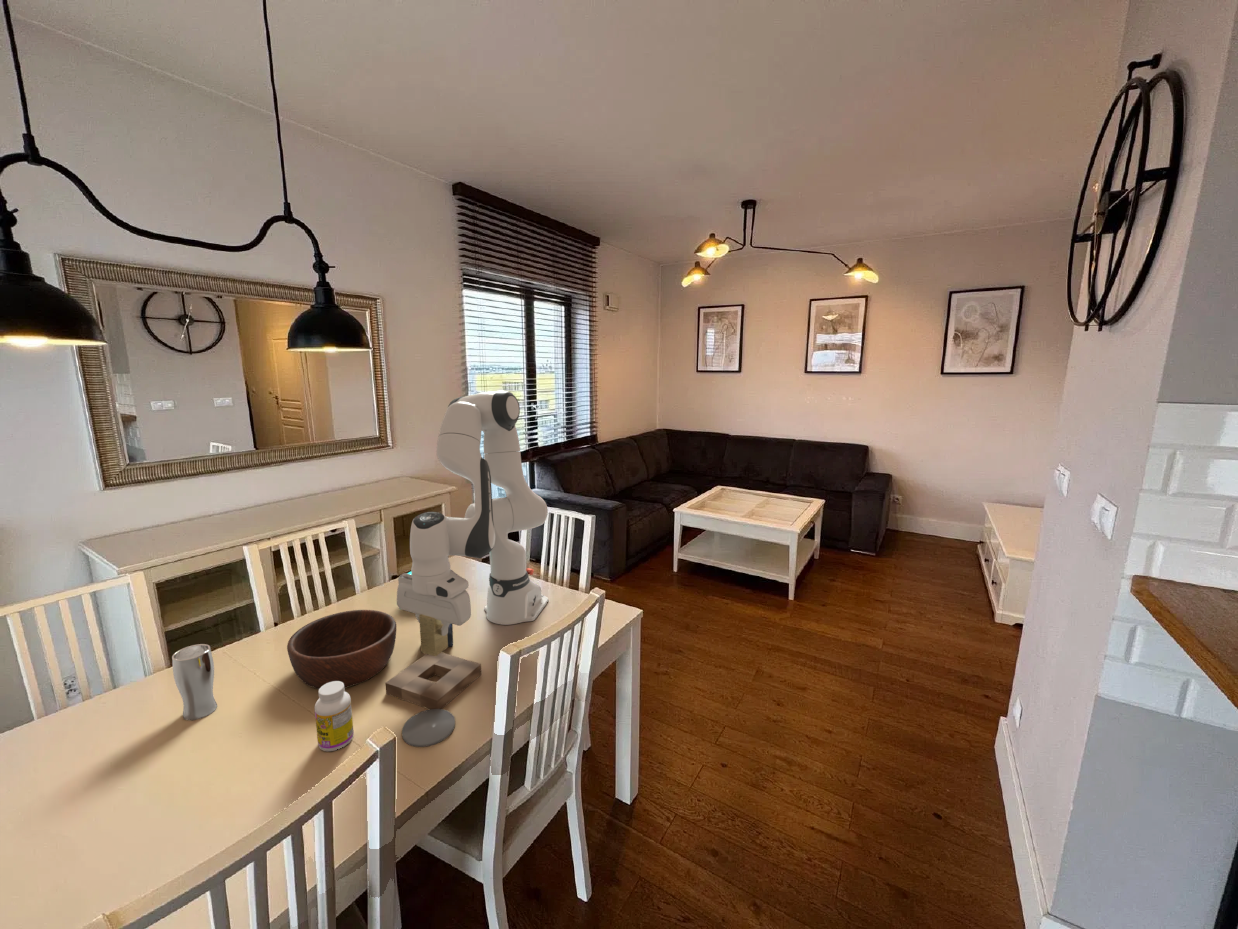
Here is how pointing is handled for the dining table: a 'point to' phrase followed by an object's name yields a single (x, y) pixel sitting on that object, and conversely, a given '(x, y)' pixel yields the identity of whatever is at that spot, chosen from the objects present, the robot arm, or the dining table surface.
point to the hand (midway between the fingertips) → (434, 631)
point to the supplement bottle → (333, 717)
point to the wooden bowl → (342, 647)
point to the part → (431, 636)
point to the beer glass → (195, 680)
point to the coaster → (428, 727)
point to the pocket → (428, 693)
